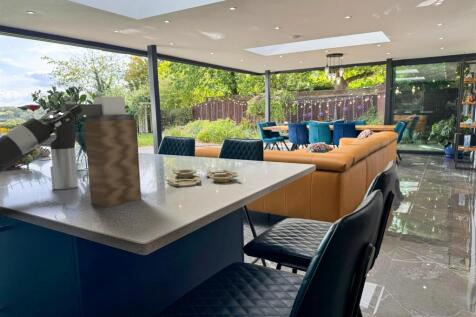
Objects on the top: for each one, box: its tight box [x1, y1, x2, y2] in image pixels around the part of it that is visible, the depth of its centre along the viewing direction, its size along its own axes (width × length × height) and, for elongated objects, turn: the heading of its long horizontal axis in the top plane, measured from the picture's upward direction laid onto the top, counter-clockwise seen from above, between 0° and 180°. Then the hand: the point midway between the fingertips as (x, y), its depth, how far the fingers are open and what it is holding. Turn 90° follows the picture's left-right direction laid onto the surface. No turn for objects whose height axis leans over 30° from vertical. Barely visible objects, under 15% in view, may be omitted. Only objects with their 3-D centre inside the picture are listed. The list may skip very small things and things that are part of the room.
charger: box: [59, 96, 126, 116], centre depth 112 cm, size 20×6×6 cm, turn 142°
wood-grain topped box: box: [83, 113, 142, 208], centre depth 119 cm, size 14×10×31 cm
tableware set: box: [165, 167, 238, 188], centre depth 158 cm, size 35×29×4 cm
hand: (73, 108), depth 107 cm, fingers open, 8 cm apart
